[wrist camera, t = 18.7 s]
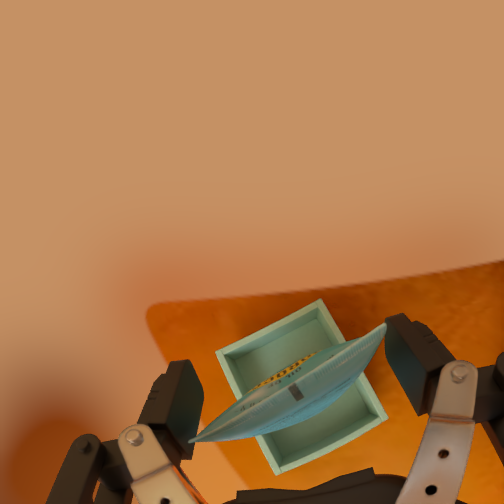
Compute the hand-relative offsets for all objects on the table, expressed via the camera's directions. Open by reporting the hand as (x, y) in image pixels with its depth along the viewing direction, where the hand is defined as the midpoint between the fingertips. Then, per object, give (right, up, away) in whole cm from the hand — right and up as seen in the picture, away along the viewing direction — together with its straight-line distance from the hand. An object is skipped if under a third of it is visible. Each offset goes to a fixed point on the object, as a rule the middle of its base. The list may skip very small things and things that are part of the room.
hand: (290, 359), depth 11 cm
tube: (+3, -9, +14) cm, 17 cm away
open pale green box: (+4, -10, +17) cm, 20 cm away
